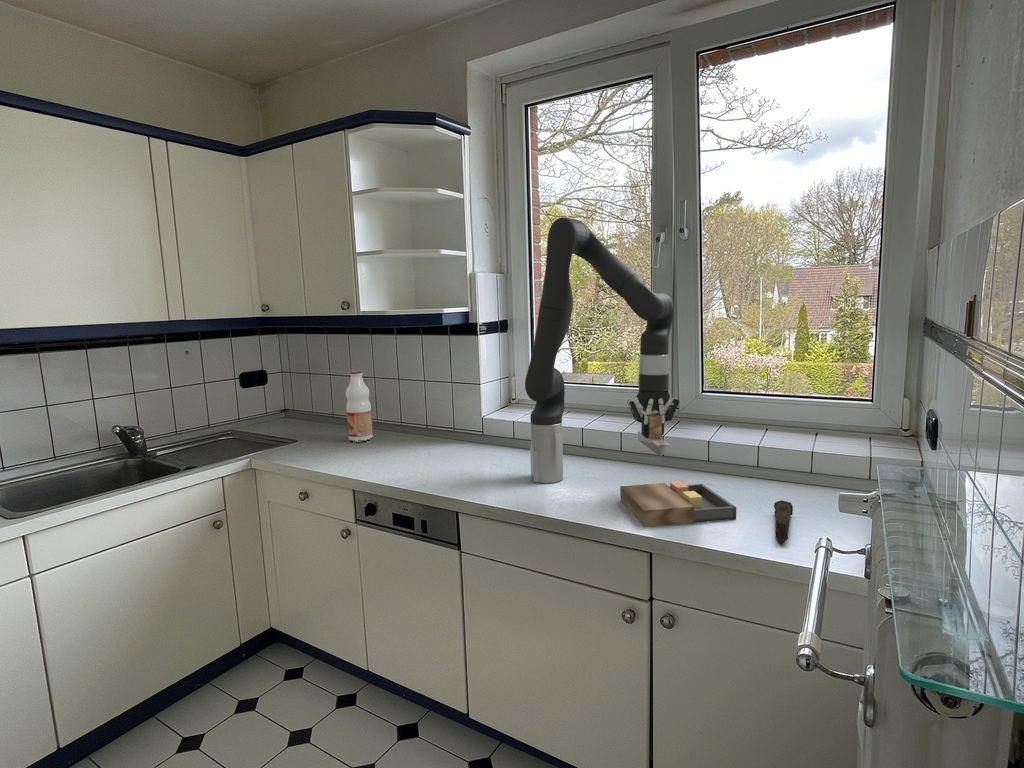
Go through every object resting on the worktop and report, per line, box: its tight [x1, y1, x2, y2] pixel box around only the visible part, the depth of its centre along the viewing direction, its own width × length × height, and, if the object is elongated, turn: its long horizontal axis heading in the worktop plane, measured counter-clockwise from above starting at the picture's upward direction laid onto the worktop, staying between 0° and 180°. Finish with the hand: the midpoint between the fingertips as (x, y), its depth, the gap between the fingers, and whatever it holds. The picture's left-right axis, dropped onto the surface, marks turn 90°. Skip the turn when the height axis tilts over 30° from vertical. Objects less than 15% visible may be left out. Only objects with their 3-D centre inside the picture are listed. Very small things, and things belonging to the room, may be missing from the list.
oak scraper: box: [637, 412, 670, 456], centre depth 151 cm, size 3×15×8 cm, turn 6°
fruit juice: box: [345, 369, 374, 441], centre depth 229 cm, size 9×9×28 cm
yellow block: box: [682, 491, 702, 509], centre depth 141 cm, size 4×4×3 cm
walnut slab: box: [619, 482, 695, 528], centre depth 144 cm, size 12×18×4 cm, turn 7°
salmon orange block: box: [669, 481, 689, 497], centre depth 148 cm, size 4×4×3 cm
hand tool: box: [773, 499, 794, 546], centre depth 130 cm, size 19×4×5 cm, turn 151°
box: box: [668, 483, 737, 524], centre depth 145 cm, size 10×18×3 cm, turn 7°
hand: (652, 436), depth 151 cm, fingers closed on oak scraper, 3 cm apart
